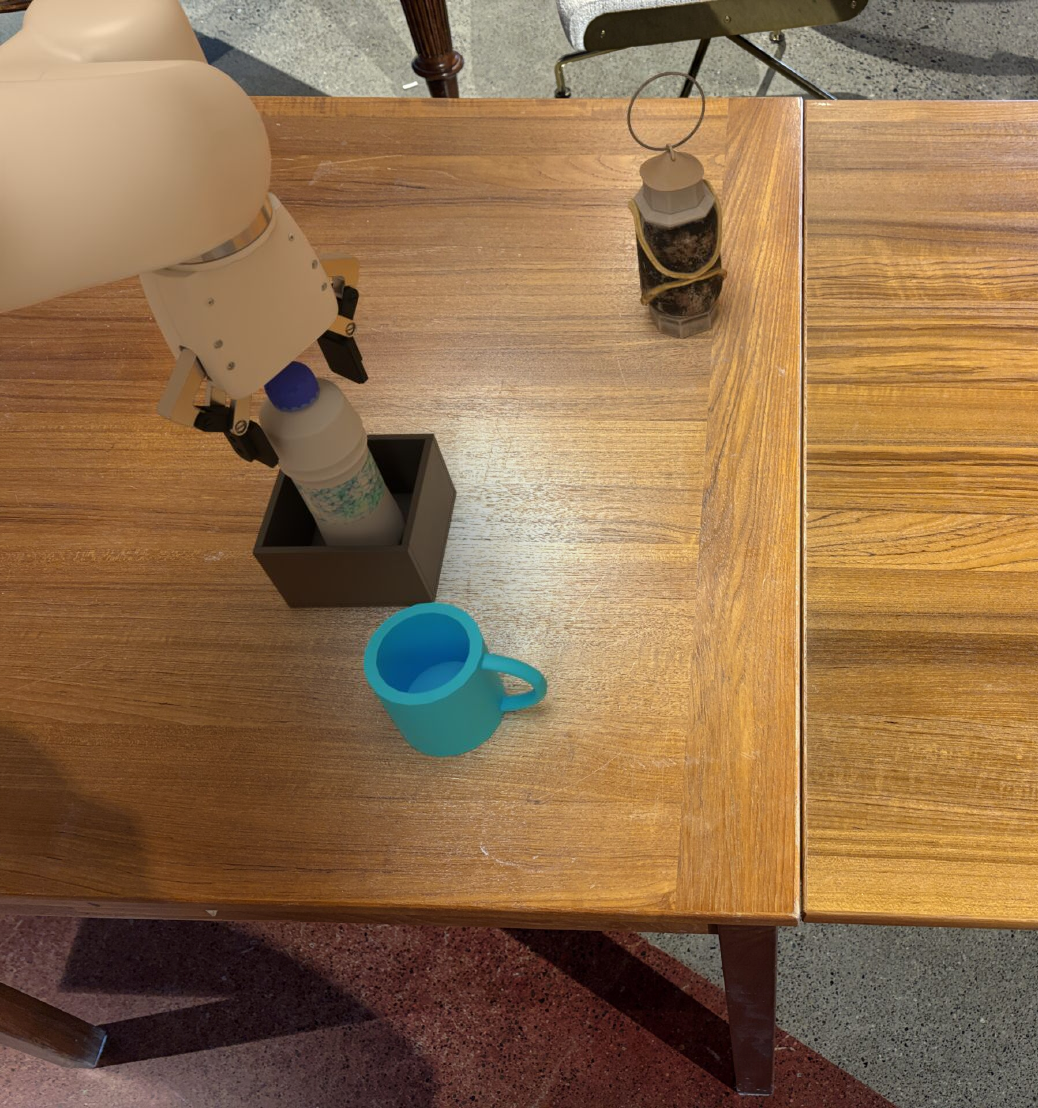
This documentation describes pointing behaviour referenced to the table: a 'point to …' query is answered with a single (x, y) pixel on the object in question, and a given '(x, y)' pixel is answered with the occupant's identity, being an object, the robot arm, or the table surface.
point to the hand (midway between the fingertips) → (307, 415)
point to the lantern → (677, 237)
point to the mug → (443, 679)
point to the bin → (364, 571)
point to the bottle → (329, 459)
